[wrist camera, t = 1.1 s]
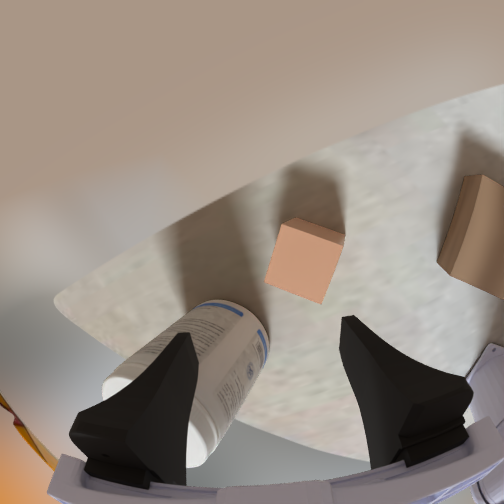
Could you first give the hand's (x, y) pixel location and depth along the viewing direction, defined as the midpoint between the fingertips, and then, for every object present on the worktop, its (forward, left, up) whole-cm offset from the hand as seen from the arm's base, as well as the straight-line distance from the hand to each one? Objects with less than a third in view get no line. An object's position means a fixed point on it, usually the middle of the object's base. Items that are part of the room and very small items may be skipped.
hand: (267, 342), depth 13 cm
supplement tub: (+5, +10, -13) cm, 18 cm away
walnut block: (-15, -8, -13) cm, 21 cm away
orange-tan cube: (0, -2, -13) cm, 13 cm away
